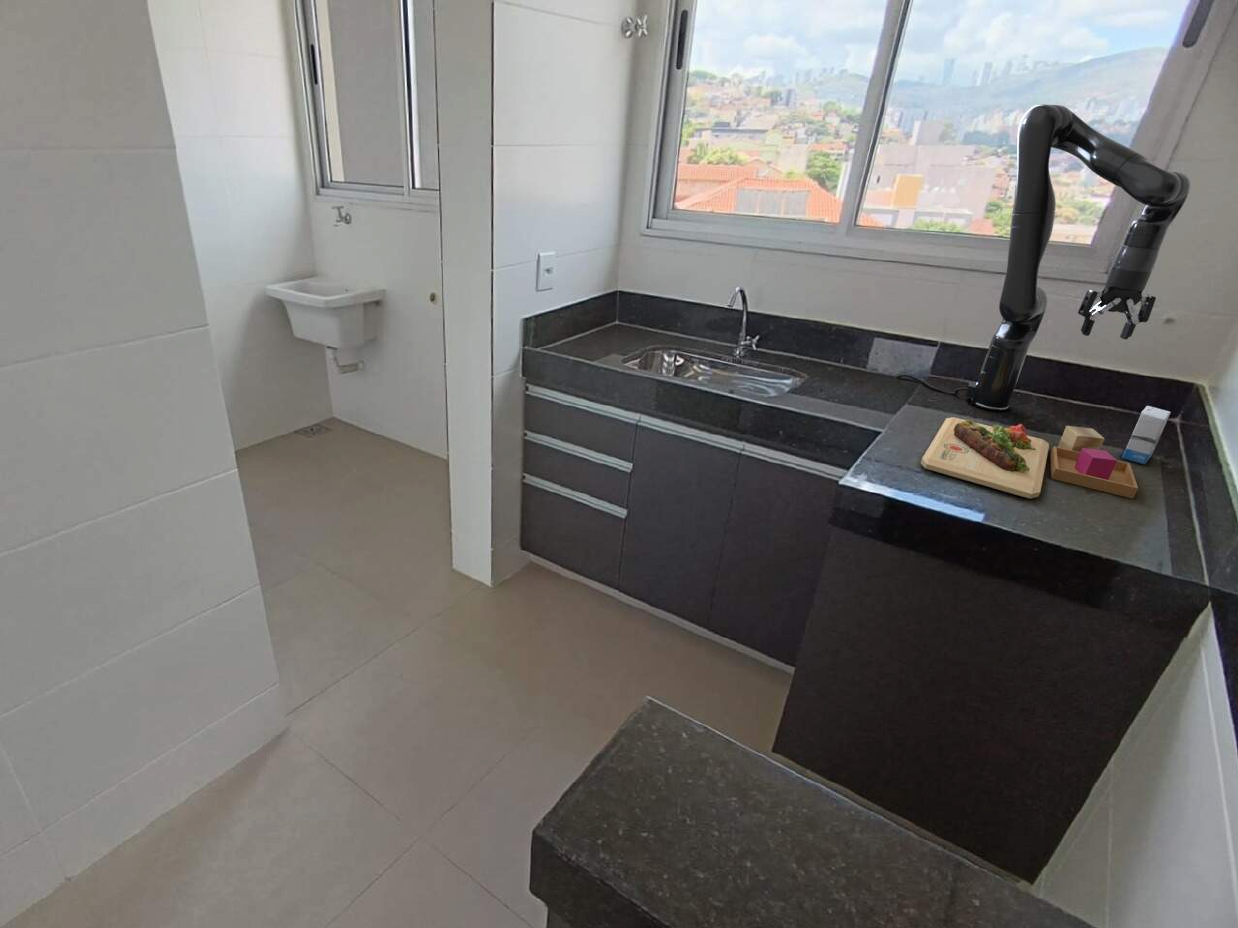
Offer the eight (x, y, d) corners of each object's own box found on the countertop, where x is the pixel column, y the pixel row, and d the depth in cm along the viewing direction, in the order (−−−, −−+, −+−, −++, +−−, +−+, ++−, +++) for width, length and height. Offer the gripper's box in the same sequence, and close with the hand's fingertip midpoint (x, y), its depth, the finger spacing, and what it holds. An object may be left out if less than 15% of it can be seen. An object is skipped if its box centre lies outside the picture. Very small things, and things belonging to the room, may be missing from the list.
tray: (1051, 478, 146) (1055, 468, 144) (1049, 455, 157) (1053, 446, 156) (1133, 498, 139) (1138, 488, 138) (1125, 473, 151) (1130, 463, 149)
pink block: (1084, 477, 146) (1092, 457, 144) (1073, 467, 150) (1082, 447, 148) (1108, 480, 145) (1117, 460, 143) (1097, 470, 150) (1106, 450, 147)
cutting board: (946, 421, 172) (954, 394, 169) (1047, 447, 161) (1058, 419, 158) (917, 468, 146) (927, 438, 142) (1036, 503, 135) (1049, 471, 131)
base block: (1067, 458, 156) (1077, 435, 153) (1057, 447, 161) (1066, 425, 159) (1094, 461, 155) (1105, 438, 153) (1083, 450, 161) (1092, 428, 158)
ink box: (1144, 465, 155) (1166, 420, 150) (1119, 458, 158) (1140, 413, 153) (1151, 455, 160) (1173, 411, 155) (1127, 448, 164) (1147, 404, 158)
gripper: (1157, 267, 152) (1128, 335, 159) (1091, 261, 154) (1065, 329, 161) (1176, 273, 145) (1144, 344, 153) (1106, 267, 147) (1079, 338, 154)
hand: (1104, 336), depth 157 cm, fingers open, 8 cm apart
